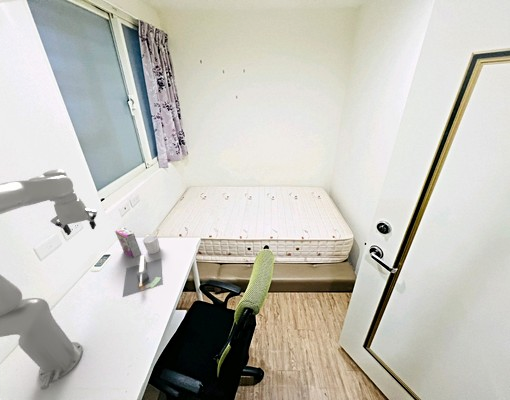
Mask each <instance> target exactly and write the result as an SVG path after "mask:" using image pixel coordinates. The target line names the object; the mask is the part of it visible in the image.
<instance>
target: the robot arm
mask: <svg viewBox="0 0 510 400" xmlns="http://www.w3.org/2000/svg"><path fill="white" fill-rule="evenodd" d="M47 201H50V202H54V204H53V208H54V210H55V214H56V215H55V217H53V218H52V219H51V220H50V223H52V224H53V225H55V226H56V227H59V228H60V229H63V231H64V232H63V233H65V234H66V235H67V236H69V235H71V232H72V230H71V228H70V226H69V225H70V224H76V223H80V222H84V221H87V222H89V223H88V224H89V226H90V227H91V230H95V227H96V226H97V224H96V222H95V218H96V217H97V214H98V210H96V209H90V208H87V206H86V205H85V203H84V202H83V201H82V199H81V198H80V197H77V194H76V192H75V190H74V184H73V181H72V179H71V178H70V177H68V175H67V172H66V171H64V170H63V169H52V170H48V171H45V172H43V174H42V175H39V176H35V177H32V178H29V179H28V180H17V181H16V180H15V181H9V182H2V183H0V215H2V214H5V213H8V212H11V211H14V210H17V209H20V208H23V207H28V206H32V205H37V204H40V203H42V202H43V203H44V202H47ZM90 214H92V215H90ZM13 335H17V336H19V338H18V341H17V342H18V345H19V346H18V347H20V349H21V350H22V351H23V352H24V353H25V354H26V355H27V356H28V357H29V358H30V359H31V360H32V361H33V362H34V363H35V364H36V365H37V366H38V367H39V369H38V377H39V378H40V380H42V384H41V387H40V390H43V391H44V390H47V389H49V385H50V384H51V382H57V381H58V380H60V379H61V378H63V377H64V376H66V375H68V374H69V372H71V371H72V370H73V369H74V368H75V367H76V366H77V364H78V363H79V361H80V360H81V358H82V356H83V351H84V350H83V346H82V344H81V343H79V342H77V341H76V342H75V341H71V340H70V339H69V337H68V336H67V334H66V333H65V331H64V330H63V329H62V328H61V327H60V325H59V323H57V321H56V319H55V318H54V317H53V315H52V312H51V309H50V305H49V303H48V302H47V300H45V298H40V297H39V298H38V297H31V298H24V299H23V294H22V291H21V289H19V288H18V286H16V285H15V284H14V283H12V282H11V281H10V280H8V279H7V278H6V277H5V276H3V275H2V274H0V338H2V337H9V336H13Z"/></svg>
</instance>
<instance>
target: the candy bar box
mask: <svg viewBox="0 0 510 400" xmlns="http://www.w3.org/2000/svg"><path fill="white" fill-rule="evenodd" d="M114 233H115V235H116V237H117V240H118V241H119V243H120V246H121V249H122V250H123V252H124V253H125V254H126V255H128V256H130V257H131V258H136V257H137V256H140V255H142V252H141V249H140V246H139V244H138V241H137V238H136V236H135V232H133V231H131V230H129V229H127V228H125V227H123V226H122V227H120V228H119V229H117V230H115V231H114Z"/></svg>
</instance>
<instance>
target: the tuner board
mask: <svg viewBox="0 0 510 400" xmlns="http://www.w3.org/2000/svg"><path fill="white" fill-rule="evenodd" d="M162 263H163V261H162V258H159V259H155V260H152V261H146V270H147V273H148V276H149V278H148V279H147V280H146V281H144V282H142V287H139V284H140V282H139V281H138V279H137V276H136V273H137V272H138V271H139V267H140V264H137V265H133V266H130V267H127V268H126V270H125V276H124V283H123V284H124V285H123V291H122V298H124V297H129V296H130V295H134V294H138V293H141V292H144V291H146V290H149V289H153V288H155V287H159V286H162V285H164V282H163V281H164V280H163V279H164V278H163V264H162Z"/></svg>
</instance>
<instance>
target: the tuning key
mask: <svg viewBox="0 0 510 400" xmlns="http://www.w3.org/2000/svg"><path fill="white" fill-rule="evenodd" d="M146 263H147V259H146V256H145V254H143V255H142V254H141V255H139V265H140V267H139V271H138V272H137V273H136V276H137V279H138V281H139V282H140V284H139V287H142V282H144V281H146V280H147V279H148V278H149V276H148V273H147V270H146Z"/></svg>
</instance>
